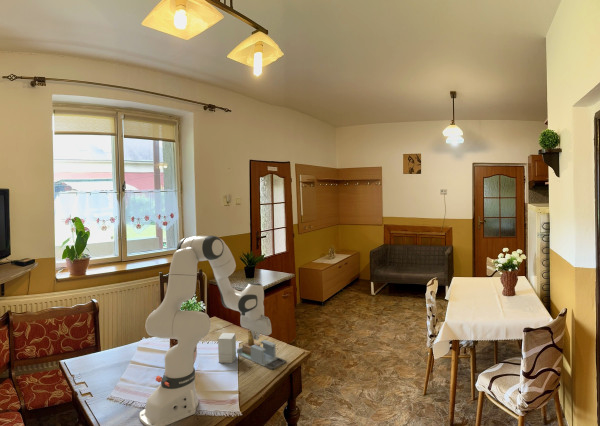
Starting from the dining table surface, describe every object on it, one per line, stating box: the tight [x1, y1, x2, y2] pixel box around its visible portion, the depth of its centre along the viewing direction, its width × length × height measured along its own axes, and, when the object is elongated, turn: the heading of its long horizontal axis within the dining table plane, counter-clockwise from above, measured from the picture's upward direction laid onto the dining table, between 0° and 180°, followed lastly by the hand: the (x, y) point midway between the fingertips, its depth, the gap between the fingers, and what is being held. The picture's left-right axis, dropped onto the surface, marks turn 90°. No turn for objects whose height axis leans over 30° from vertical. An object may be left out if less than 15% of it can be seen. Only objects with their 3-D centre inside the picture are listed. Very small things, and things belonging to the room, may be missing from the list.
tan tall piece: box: [241, 330, 261, 356], centre depth 189 cm, size 6×7×11 cm
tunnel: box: [236, 339, 287, 371], centre depth 185 cm, size 10×26×7 cm, turn 50°
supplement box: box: [217, 332, 237, 364], centre depth 183 cm, size 7×7×13 cm
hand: (255, 339), depth 187 cm, fingers closed
